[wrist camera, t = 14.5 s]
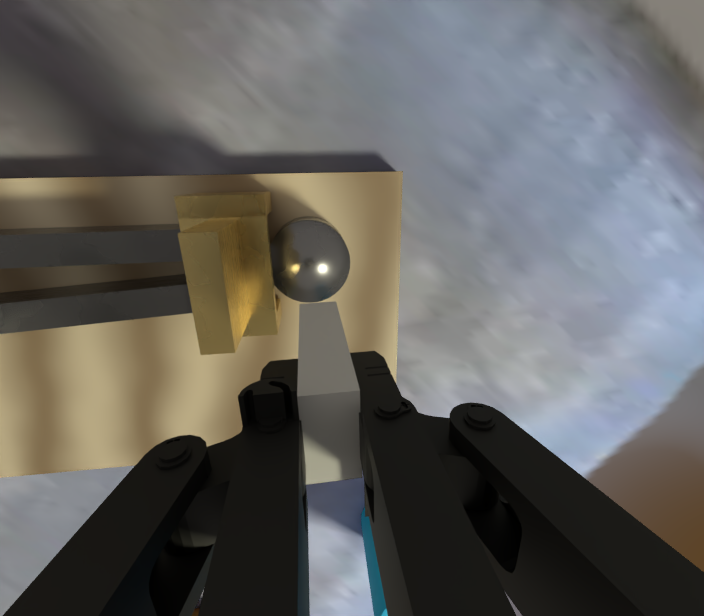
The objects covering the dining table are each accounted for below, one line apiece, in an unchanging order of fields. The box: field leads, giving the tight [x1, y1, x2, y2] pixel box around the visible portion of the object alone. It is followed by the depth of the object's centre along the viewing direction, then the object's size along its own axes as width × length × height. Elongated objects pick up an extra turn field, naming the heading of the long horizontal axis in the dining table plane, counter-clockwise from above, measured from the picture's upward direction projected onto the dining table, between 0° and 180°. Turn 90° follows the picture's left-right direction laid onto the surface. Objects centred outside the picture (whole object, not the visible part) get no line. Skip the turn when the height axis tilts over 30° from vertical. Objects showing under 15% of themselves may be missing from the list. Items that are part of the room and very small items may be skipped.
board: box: [0, 171, 403, 478], centre depth 22 cm, size 33×19×2 cm, turn 91°
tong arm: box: [0, 274, 193, 334], centre depth 19 cm, size 23×2×2 cm, turn 95°
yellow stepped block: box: [174, 191, 282, 355], centre depth 17 cm, size 4×7×7 cm, turn 1°
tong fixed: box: [0, 216, 350, 303], centre depth 19 cm, size 28×4×2 cm, turn 91°
